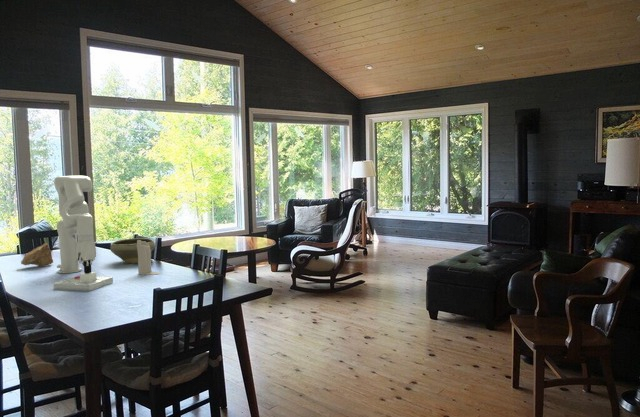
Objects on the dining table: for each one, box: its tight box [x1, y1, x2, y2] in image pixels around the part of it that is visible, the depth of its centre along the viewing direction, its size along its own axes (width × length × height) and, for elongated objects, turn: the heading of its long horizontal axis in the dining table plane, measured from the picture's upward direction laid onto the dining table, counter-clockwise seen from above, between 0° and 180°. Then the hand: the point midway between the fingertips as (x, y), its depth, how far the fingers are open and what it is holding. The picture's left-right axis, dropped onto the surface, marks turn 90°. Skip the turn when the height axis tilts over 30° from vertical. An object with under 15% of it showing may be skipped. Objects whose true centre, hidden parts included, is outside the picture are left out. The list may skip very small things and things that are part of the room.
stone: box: [20, 242, 54, 267], centre depth 320 cm, size 18×10×15 cm, turn 122°
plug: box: [79, 271, 97, 282], centre depth 264 cm, size 6×5×7 cm
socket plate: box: [52, 274, 114, 292], centre depth 265 cm, size 22×18×4 cm
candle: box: [137, 240, 162, 276], centre depth 291 cm, size 7×14×20 cm, turn 78°
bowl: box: [110, 237, 156, 264], centre depth 330 cm, size 28×28×14 cm
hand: (87, 272), depth 264 cm, fingers closed
